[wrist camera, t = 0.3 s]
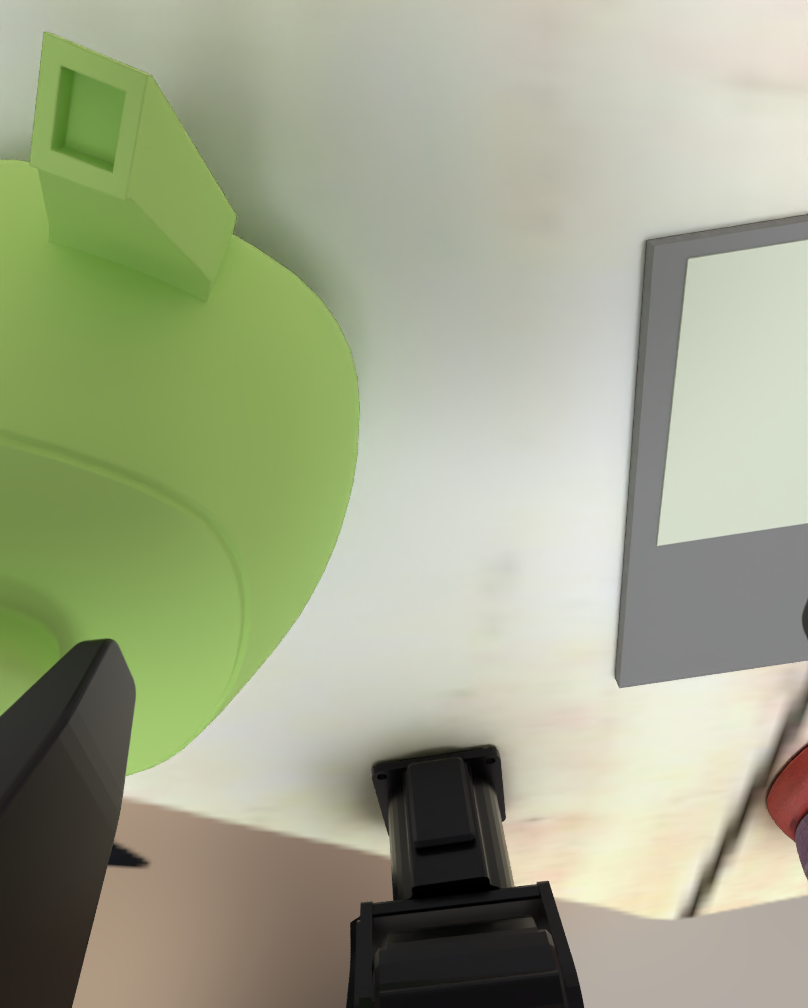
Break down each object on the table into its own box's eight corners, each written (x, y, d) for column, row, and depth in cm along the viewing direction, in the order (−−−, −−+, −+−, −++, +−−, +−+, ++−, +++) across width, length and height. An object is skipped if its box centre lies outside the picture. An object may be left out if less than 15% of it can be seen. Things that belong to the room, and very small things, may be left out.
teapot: (-73, -117, 15) (-1002, -401, 5) (472, 162, 19) (628, 342, 9) (-108, 551, 25) (-419, 927, 15) (251, 639, 29) (202, 983, 19)
